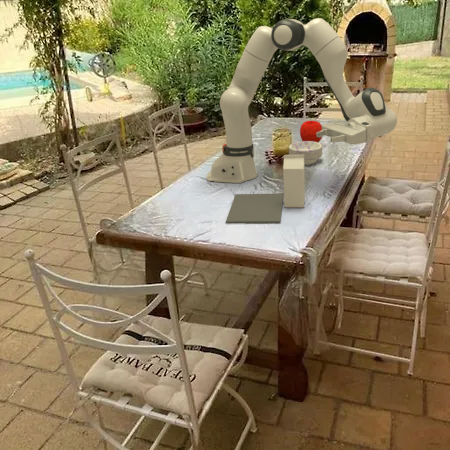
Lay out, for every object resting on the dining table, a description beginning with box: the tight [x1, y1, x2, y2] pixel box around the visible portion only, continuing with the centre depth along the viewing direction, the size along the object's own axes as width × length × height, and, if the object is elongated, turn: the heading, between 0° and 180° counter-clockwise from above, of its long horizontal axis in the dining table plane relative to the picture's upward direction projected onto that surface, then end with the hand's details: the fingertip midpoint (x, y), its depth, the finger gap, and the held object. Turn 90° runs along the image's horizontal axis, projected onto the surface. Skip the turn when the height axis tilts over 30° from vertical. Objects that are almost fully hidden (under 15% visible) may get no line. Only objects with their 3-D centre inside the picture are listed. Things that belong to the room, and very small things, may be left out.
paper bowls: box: [288, 141, 323, 166], centre depth 222 cm, size 15×15×8 cm
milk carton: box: [282, 154, 306, 208], centre depth 175 cm, size 7×7×19 cm
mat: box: [225, 192, 284, 224], centre depth 178 cm, size 19×26×1 cm
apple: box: [299, 120, 323, 143], centre depth 243 cm, size 12×12×13 cm
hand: (324, 137), depth 173 cm, fingers open, 8 cm apart
